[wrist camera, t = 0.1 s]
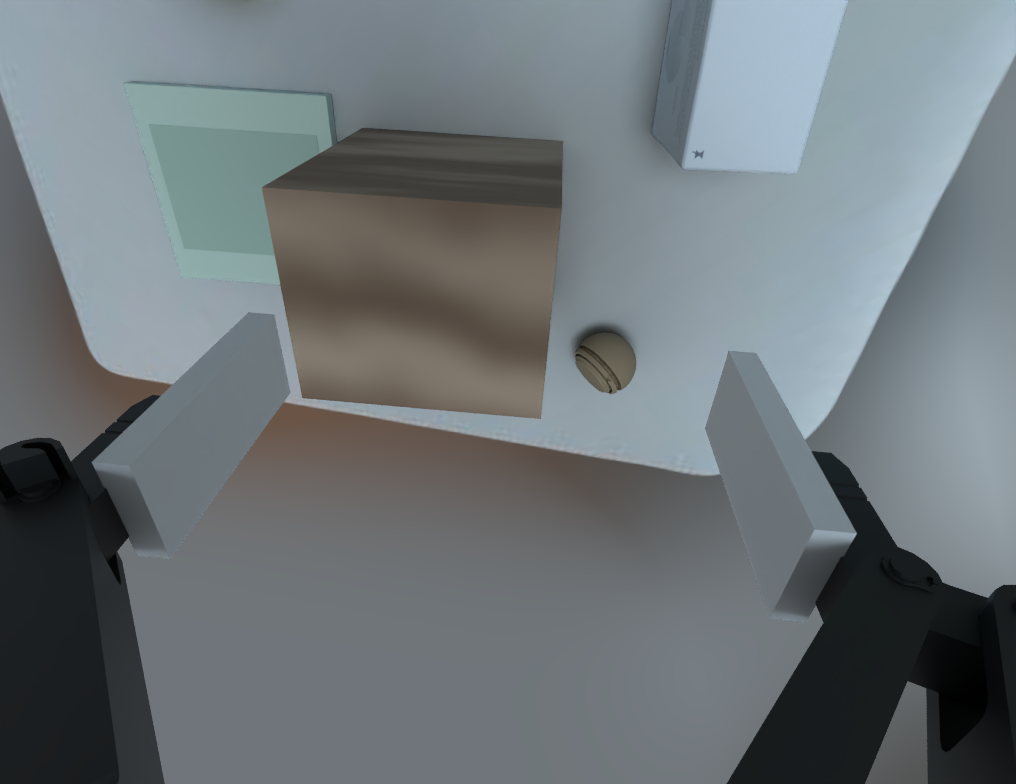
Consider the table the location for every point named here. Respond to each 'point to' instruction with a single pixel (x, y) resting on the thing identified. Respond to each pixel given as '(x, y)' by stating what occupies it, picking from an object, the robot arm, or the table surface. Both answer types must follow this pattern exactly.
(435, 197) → the block
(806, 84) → the skincare box
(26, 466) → the robot arm
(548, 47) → the table surface
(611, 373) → the door knob
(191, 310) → the table surface
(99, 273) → the table surface
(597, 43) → the table surface
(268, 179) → the pad
